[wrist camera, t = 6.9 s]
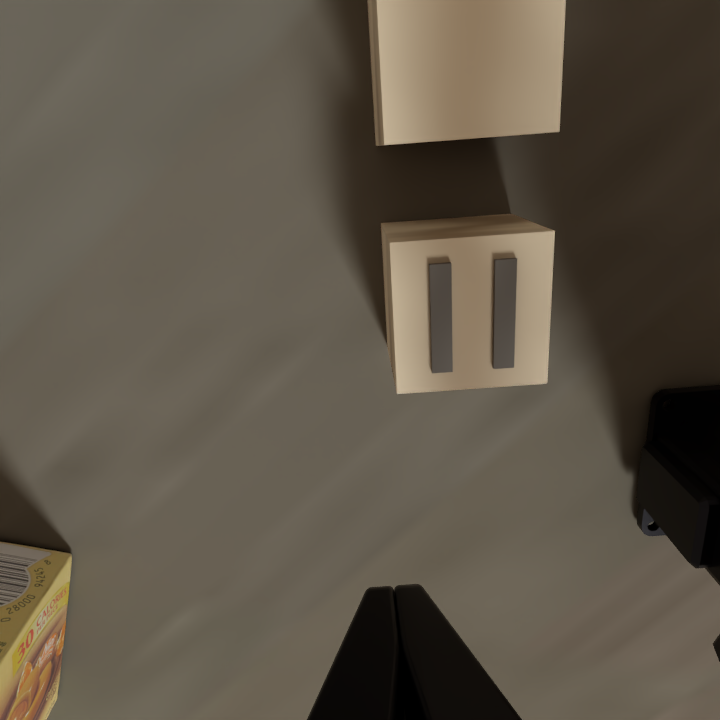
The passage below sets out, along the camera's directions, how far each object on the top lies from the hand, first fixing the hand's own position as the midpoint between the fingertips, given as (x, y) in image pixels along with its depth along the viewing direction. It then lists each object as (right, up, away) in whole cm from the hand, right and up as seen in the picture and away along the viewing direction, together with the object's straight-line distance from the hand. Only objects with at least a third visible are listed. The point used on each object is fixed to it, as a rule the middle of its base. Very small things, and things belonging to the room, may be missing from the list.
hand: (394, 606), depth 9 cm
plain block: (+2, +13, +9) cm, 16 cm away
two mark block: (+3, +7, +12) cm, 14 cm away
